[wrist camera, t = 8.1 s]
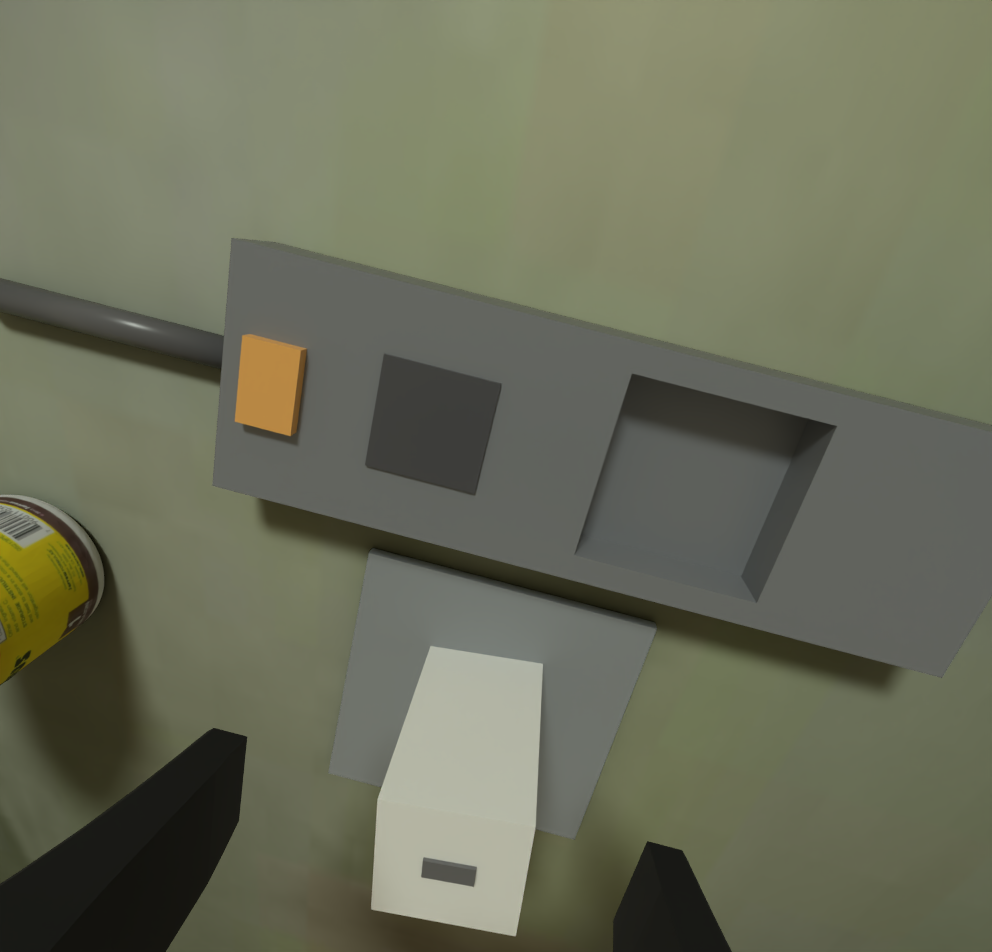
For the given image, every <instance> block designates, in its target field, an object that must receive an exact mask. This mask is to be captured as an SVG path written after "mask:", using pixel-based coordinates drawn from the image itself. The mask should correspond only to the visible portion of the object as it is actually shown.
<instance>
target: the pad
mask: <svg viewBox="0 0 992 952" xmlns="http://www.w3.org/2000/svg"><path fill="white" fill-rule="evenodd" d="M656 630H657V627H656V623H655V622H652V621H648V620H644V619H640V618H637V617H633V616H629V615H625V614H621V613H618V612H614V611H610V610H606V609H602V608H599V607H595V606H591V605H587V604H584V603H580V602H576V601H572V600H568V599H565V598H561V597H557V596H553V595H549V594H546V593H542V592H538V591H534V590H530V589H527V588H523V587H519V586H515V585H512V584H508V583H504V582H500V581H496V580H493V579H489V578H485V577H481V576H477V575H474V574H470V573H466V572H462V571H459V570H455V569H451V568H447V567H443V566H440V565H436V564H432V563H428V562H424V561H421V560H417V559H413V558H409V557H405V556H402V555H398V554H394V553H390V552H387V551H383V550H379V549H375V548H372V549H371V550H370V552H369V554H368V560H367V565H366V571H365V576H364V582H363V587H362V593H361V598H360V604H359V609H358V614H357V620H356V625H355V631H354V636H353V642H352V647H351V653H350V658H349V664H348V669H347V674H346V680H345V685H344V691H343V696H342V702H341V707H340V713H339V718H338V724H337V729H336V735H335V740H334V745H333V751H332V756H331V762H330V767H329V773H330V774H334V775H338V776H341V777H345V778H349V779H352V780H356V781H360V782H363V783H367V784H371V785H375V786H378V787H382V785H383V782H384V779H385V776H386V773H387V771H388V768H389V765H390V762H391V759H392V756H393V753H394V750H395V747H396V744H397V742H398V739H399V736H400V733H401V730H402V727H403V724H404V721H405V718H406V716H407V713H408V710H409V707H410V704H411V701H412V698H413V695H414V692H415V690H416V687H417V684H418V681H419V678H420V675H421V672H422V669H423V666H424V664H425V661H426V658H427V655H428V652H429V649H430V646H434V647H440V648H447V649H453V650H459V651H466V652H472V653H478V654H484V655H491V656H497V657H503V658H510V659H516V660H522V661H529V662H535V663H541V664H543V674H542V696H541V719H540V741H539V763H538V785H537V807H536V827H535V829H537V830H540V831H544V832H548V833H551V834H555V835H559V836H563V837H566V838H570V839H574V840H575V837H576V834H577V832H578V829H579V827H580V824H581V822H582V819H583V817H584V814H585V812H586V809H587V806H588V804H589V801H590V799H591V796H592V794H593V791H594V789H595V786H596V783H597V781H598V778H599V776H600V773H601V771H602V768H603V766H604V763H605V761H606V758H607V755H608V753H609V750H610V748H611V745H612V743H613V740H614V738H615V735H616V732H617V730H618V727H619V725H620V722H621V720H622V717H623V715H624V712H625V709H626V707H627V704H628V702H629V699H630V697H631V694H632V692H633V689H634V687H635V684H636V681H637V679H638V676H639V674H640V671H641V669H642V666H643V664H644V661H645V658H646V656H647V653H648V651H649V648H650V646H651V643H652V641H653V638H654V636H655V633H656Z"/></svg>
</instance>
